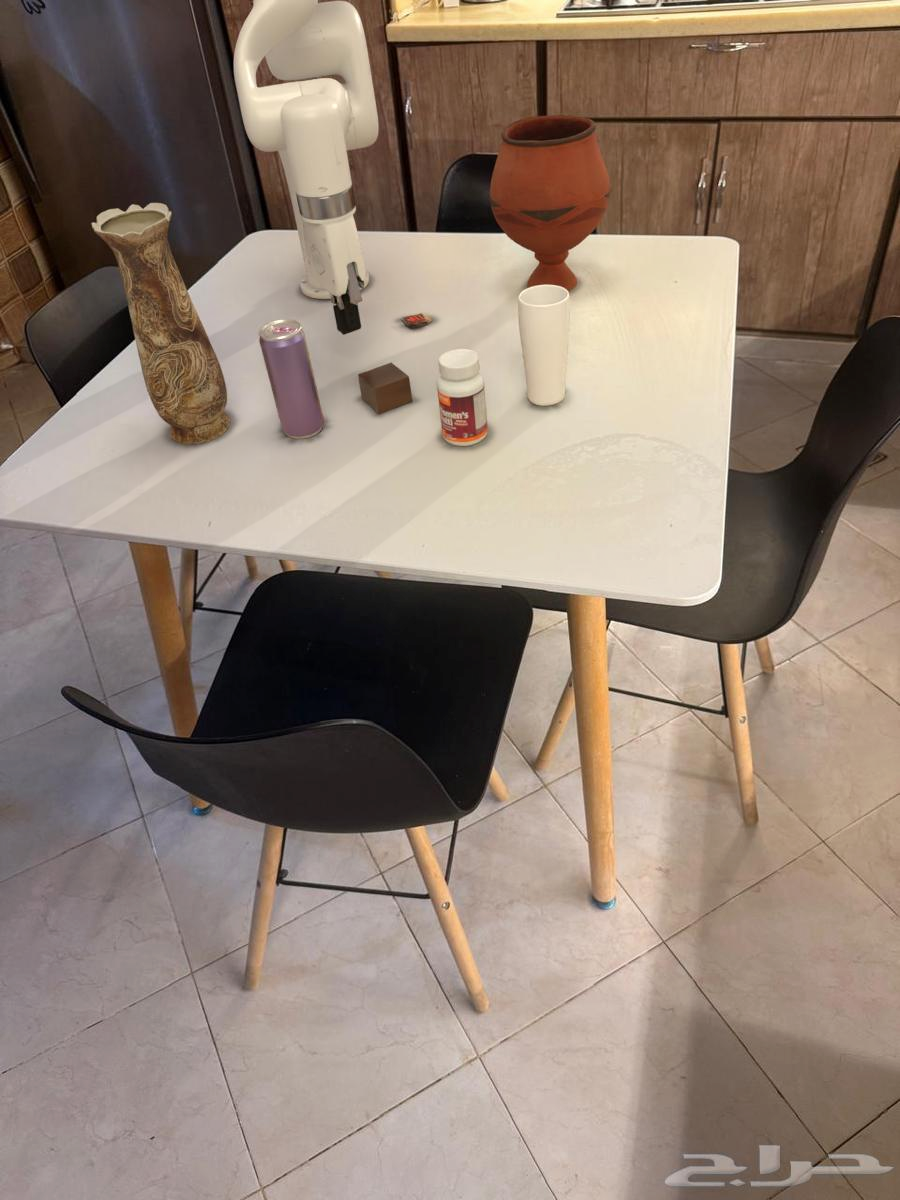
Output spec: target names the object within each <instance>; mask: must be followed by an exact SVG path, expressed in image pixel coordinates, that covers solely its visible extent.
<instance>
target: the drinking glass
mask: <svg viewBox="0 0 900 1200" xmlns="http://www.w3.org/2000/svg"><path fill="white" fill-rule="evenodd" d="M517 316H518V317H517V318H518V329H519V336H520V337H519V338H520V344H521V345H520V347H521V354H522V360H523V361H522V362H523V367H524V376H525V383H526V396H527V397H526V398H527V399H528V401H529V402H530V403H532V404H534V405H537V406H540V407H549V406H553V405H557V404H559V403H561V402H562V401H563V400H564V398H565V396H566V377H567V365H568V355H569V354H568V352H569V343H570V342H569V341H570V330H571V329H570V328H571V301H570V291H567V290H566V289H565V288H563V287H560V286H557V285H537V286H533V287H530V288H527V287H526V288H525V289H523V290H522V291H521V292H519V294H518V296H517Z"/></svg>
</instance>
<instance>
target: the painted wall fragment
mask: <svg viewBox="0 0 900 1200" xmlns="http://www.w3.org/2000/svg"><path fill="white" fill-rule="evenodd" d="M399 320H401V321H403V322H404V323H405V324H404V326H407V327H408V328H410V329H412V328H414V329H415V328H417V327H418V328H419V327H422V326H425V325H428V324H430V322H432V321H433V317H431V316H430V315H425V314H424V312H418V313H414V314H408V315H405V316H402V317H401V318H400V319H399Z"/></svg>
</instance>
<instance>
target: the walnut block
mask: <svg viewBox="0 0 900 1200" xmlns="http://www.w3.org/2000/svg"><path fill="white" fill-rule="evenodd" d="M357 379H358V384H359V389H360V395H361V399H362V401H364V403H366V404H367V405H368V406H369V407H370V408H372V410H373V411H375V412H376V413H377V414H378V415H381V414H383V413H386V412H389V411H391V410H394V409H397V408H398V407H402V406H405V405H407V404H409V403H413V395H412V388H411V382H410V375H408V374H407V373H405V372H404V371H403V370H402V369H401V368H399V367H398V366H397V365H395V364H394V363H393V362H389V363H385V364H383V365H380V366H378V367H375V368H372V369H369V370H366V371H363V372H360V373H357Z"/></svg>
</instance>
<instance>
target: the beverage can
mask: <svg viewBox="0 0 900 1200" xmlns="http://www.w3.org/2000/svg"><path fill="white" fill-rule="evenodd" d="M258 335H259V338H258V341H259V342H258V343H259V346H260V350H261V354H262V358H263V361H264V366H265V370H266V372H267V377H268V381H269V384H270V388H271V392H272V396H273V400H274V404H275V407H276V412H277V416H278V419H279V423H280V427H281V430H282V432H283V433H284V434H285V435H286V436H287V437H289V438H291V439H295V440H302V439H303V440H305V439H309V438H311V437H315V436H316V435H318V434H319V433H320V432H321V431H322V429H323V427H324V425H325V419H324V415H323V410H322V406H321V405H322V404H321V401H320V396H319V392H318V388H317V387H318V386H317V383H316V378H315V374H314V369H313V365H312V361H311V356H310V351H309V347H308V343H307V338H306V333H305V331H304V329H303V327H302V324H301V323H300V322H299V321H297V320H295V319H277V320H274V321H270V322H268V323H265V324H264V325H263V326H261V327H260V328H259V329H258Z"/></svg>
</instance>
